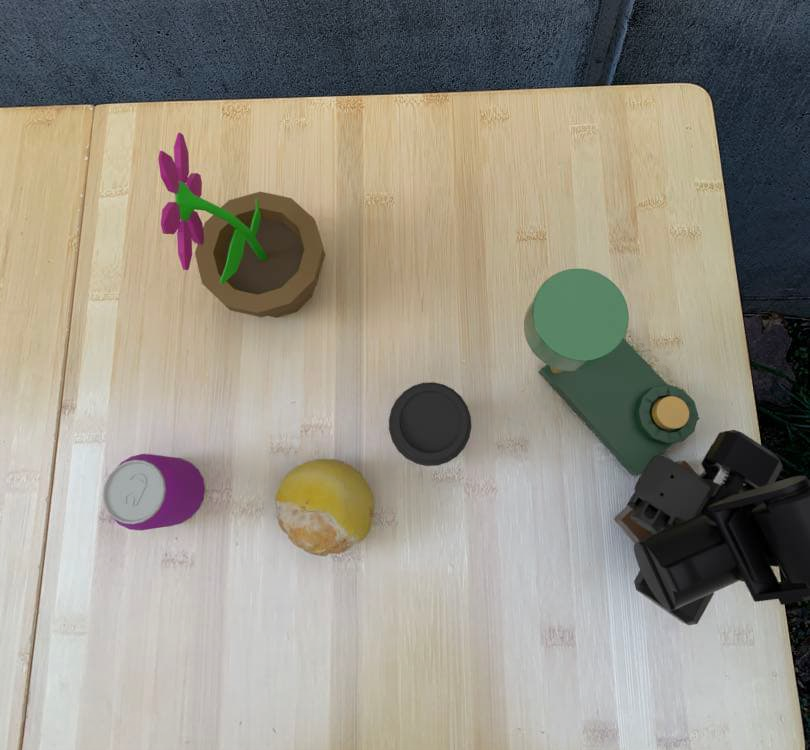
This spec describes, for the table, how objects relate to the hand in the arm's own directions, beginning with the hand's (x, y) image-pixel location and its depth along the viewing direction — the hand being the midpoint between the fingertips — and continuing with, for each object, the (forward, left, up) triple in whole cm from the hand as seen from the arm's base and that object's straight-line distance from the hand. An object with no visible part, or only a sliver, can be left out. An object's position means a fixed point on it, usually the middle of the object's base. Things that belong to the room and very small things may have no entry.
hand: (676, 520), depth 75 cm
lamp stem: (+21, -2, -3) cm, 21 cm away
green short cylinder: (+23, 0, +18) cm, 30 cm away
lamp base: (+14, -5, -3) cm, 15 cm away
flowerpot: (+52, +17, -3) cm, 55 cm away
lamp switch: (+9, -7, +1) cm, 12 cm away
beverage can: (+39, +42, -3) cm, 57 cm away
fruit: (+26, +29, -3) cm, 39 cm away
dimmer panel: (0, 0, -3) cm, 3 cm away
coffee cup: (+25, +15, -3) cm, 29 cm away
